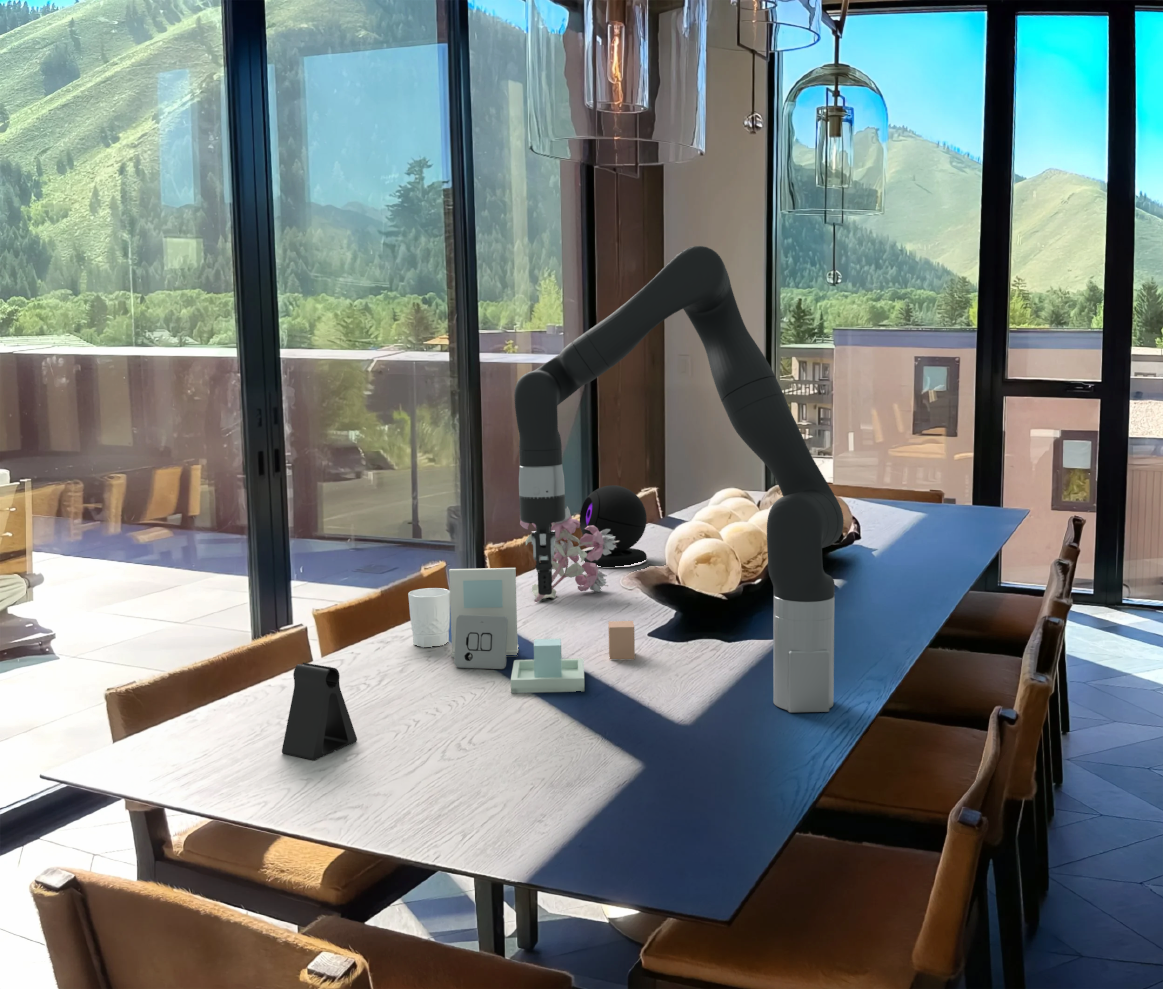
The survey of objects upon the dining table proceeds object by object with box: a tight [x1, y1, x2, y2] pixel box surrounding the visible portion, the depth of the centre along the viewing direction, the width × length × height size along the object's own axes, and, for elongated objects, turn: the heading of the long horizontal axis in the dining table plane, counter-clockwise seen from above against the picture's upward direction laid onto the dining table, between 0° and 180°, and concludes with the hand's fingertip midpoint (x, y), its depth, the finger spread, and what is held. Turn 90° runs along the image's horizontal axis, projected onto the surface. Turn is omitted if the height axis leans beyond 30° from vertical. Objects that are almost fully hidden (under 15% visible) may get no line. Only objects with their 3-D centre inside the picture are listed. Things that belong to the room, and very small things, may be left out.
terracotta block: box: [607, 620, 636, 660], centre depth 210 cm, size 4×4×6 cm
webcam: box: [579, 484, 648, 567], centre depth 299 cm, size 17×17×20 cm
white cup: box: [407, 587, 451, 648], centre depth 221 cm, size 8×8×10 cm
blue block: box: [533, 638, 562, 678], centre depth 194 cm, size 4×4×6 cm
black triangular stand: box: [281, 662, 358, 761], centre depth 164 cm, size 9×6×12 cm, turn 149°
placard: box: [448, 567, 519, 658], centre depth 213 cm, size 5×12×16 cm, turn 91°
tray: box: [510, 657, 585, 694], centre depth 195 cm, size 12×12×2 cm
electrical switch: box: [453, 615, 508, 670], centre depth 205 cm, size 9×5×9 cm, turn 78°
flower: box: [519, 505, 619, 603], centre depth 260 cm, size 20×22×25 cm
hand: (545, 589), depth 192 cm, fingers open, 8 cm apart
